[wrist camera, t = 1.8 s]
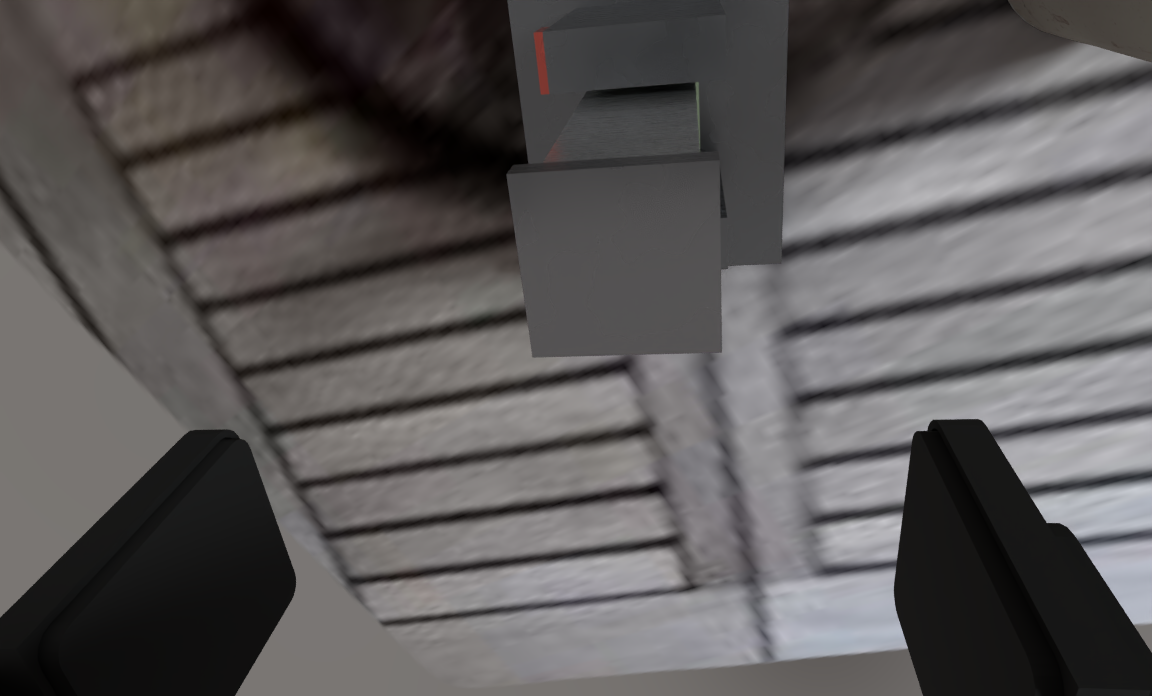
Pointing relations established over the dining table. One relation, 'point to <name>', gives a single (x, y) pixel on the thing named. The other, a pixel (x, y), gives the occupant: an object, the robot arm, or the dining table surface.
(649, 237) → the column
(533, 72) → the base
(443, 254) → the dining table surface
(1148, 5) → the thermos bottle
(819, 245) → the dining table surface
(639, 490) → the dining table surface
